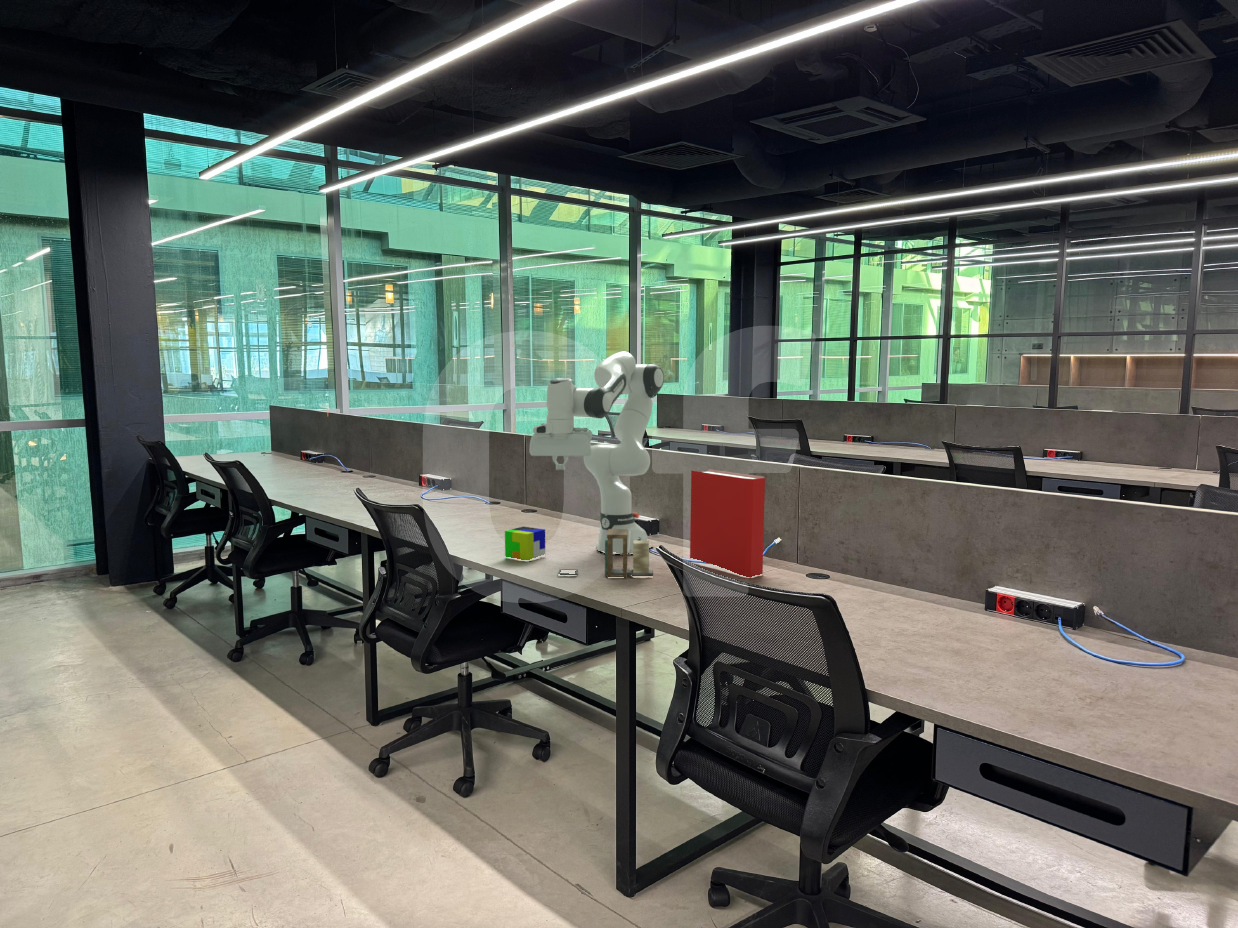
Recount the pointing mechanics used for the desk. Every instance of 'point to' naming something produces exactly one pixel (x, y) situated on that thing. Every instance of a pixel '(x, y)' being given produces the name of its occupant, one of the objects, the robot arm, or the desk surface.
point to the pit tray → (568, 573)
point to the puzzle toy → (524, 543)
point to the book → (728, 520)
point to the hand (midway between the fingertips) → (560, 469)
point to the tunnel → (612, 535)
